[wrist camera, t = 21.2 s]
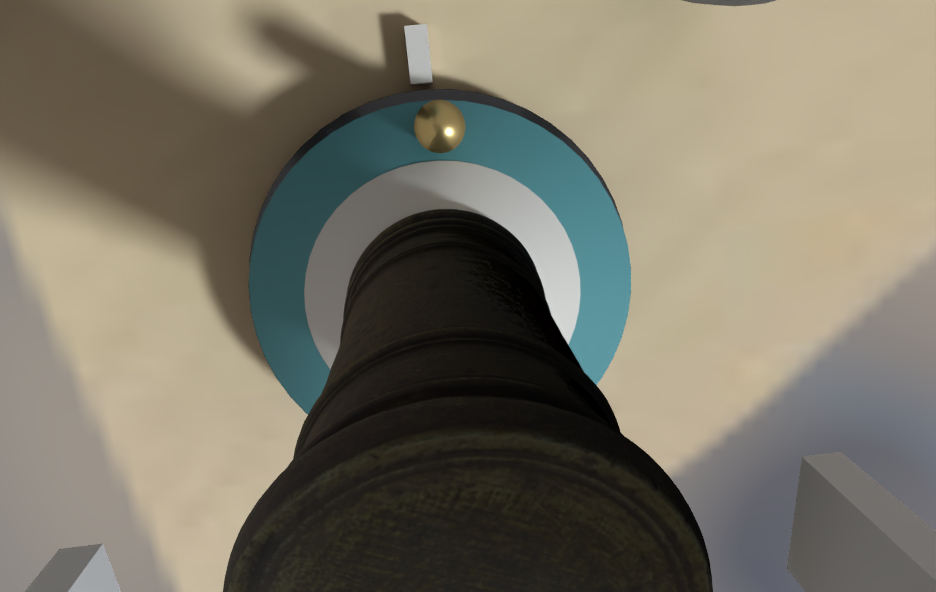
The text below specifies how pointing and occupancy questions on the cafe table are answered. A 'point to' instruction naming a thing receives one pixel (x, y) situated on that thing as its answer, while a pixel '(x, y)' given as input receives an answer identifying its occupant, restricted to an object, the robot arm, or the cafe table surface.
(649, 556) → the container
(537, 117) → the turntable base
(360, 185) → the turntable
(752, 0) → the pocket watch
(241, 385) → the cafe table surface
